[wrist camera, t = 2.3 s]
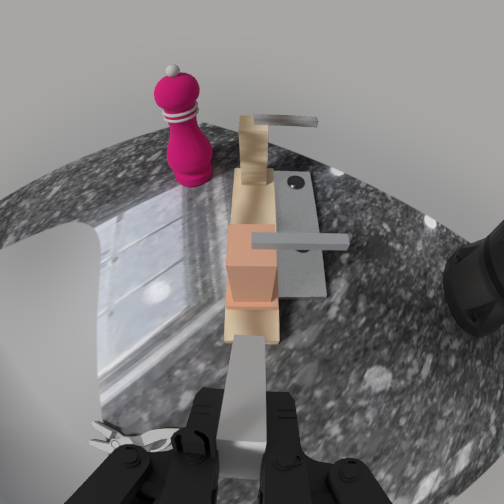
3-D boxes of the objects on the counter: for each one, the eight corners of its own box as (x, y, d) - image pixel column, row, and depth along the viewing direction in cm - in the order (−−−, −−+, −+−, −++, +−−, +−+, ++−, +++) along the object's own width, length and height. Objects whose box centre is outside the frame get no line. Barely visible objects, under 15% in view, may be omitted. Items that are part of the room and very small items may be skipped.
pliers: (200, 506, 19) (86, 463, 20) (202, 502, 20) (92, 461, 22) (213, 437, 24) (95, 398, 25) (215, 435, 25) (101, 398, 26)
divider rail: (303, 178, 43) (314, 111, 31) (320, 342, 30) (358, 310, 19) (235, 176, 43) (230, 109, 32) (225, 343, 30) (208, 311, 19)
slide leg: (319, 269, 32) (343, 214, 23) (322, 309, 30) (353, 266, 20) (229, 269, 32) (218, 212, 23) (227, 309, 30) (213, 265, 20)
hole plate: (308, 176, 43) (309, 171, 42) (324, 299, 33) (327, 296, 32) (272, 175, 43) (272, 170, 42) (277, 299, 33) (277, 296, 32)
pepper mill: (177, 195, 41) (144, 82, 24) (169, 167, 45) (142, 65, 27) (221, 181, 43) (206, 66, 25) (208, 155, 46) (194, 52, 28)
